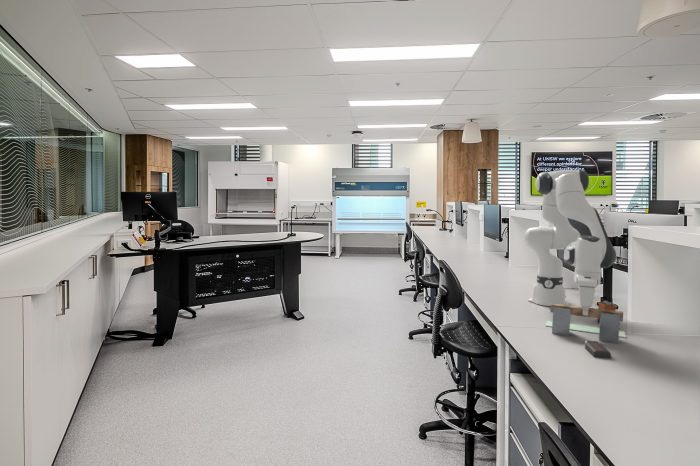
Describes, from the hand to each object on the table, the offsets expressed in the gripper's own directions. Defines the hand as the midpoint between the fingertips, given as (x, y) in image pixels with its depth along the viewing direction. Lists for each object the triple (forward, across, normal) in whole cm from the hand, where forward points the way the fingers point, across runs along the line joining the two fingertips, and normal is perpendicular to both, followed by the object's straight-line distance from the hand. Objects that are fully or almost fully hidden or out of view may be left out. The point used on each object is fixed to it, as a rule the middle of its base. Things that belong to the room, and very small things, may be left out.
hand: (585, 313), depth 160 cm
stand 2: (+9, 0, +8) cm, 12 cm away
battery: (+9, -22, +8) cm, 25 cm away
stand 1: (+9, 0, -8) cm, 12 cm away
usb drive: (+9, +17, +4) cm, 20 cm away
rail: (+1, 0, 0) cm, 1 cm away
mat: (+9, -10, 0) cm, 13 cm away
